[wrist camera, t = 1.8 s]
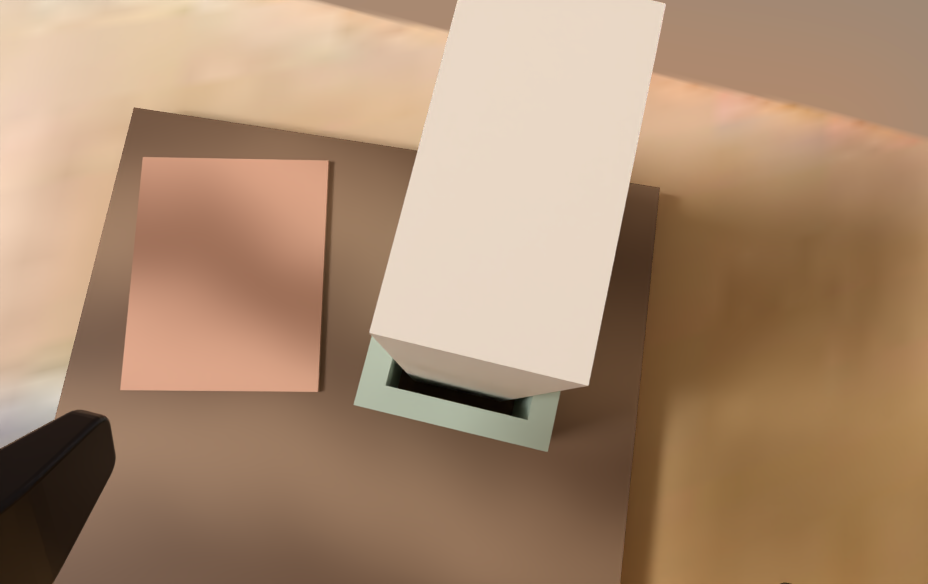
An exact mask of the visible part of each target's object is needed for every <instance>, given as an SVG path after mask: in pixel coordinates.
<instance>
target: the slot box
mask: <svg viewBox="0 0 928 584" xmlns="http://www.w3.org/2000/svg"><path fill="white" fill-rule="evenodd" d="M401 373H402V367H401V366H400V365H399V364H398V363H397V362H396V361H395V360H394V359H393V358H392V357H391V356H390V355H389V354H388V352H387V351H386V350H385V349H384V348H383V347H382V346H381V345H380V344H379V343H378V342H377V341H376V340H375V339H374V337H373V336H372V337H371V341H370V345H369V348H368V352H367V356H366V360H365V363H364V367H363V371H362V375H361V378H360V382H359V386H358V390H357V394H356V397H355V401H354V405H356V406H360V407H364V408H369V409H373V410H377V411H381V412H385V413H389V414H393V415H397V416H401V417H406V418H410V419H414V420H418V421H422V422H426V423H430V424H434V425H438V426H443V427H447V428H451V429H455V430H459V431H463V432H467V433H471V434H475V435H480V436H484V437H488V438H492V439H496V440H500V441H504V442H508V443H512V444H517V445H521V446H525V447H529V448H533V449H537V450H541V451H545V452H548V448H549V444H550V439H551V434H552V429H553V425H554V420H555V415H556V410H557V406H558V401H559V396H560V391H557V392H551V393H545V394H540V395H534V396H529V397H523V398H518V399H515V401H514V406H513V410H512V415H511V416H509V415H505V414H501V413H497V412H493V411H489V410H484V409H480V408H476V407H472V406H468V405H464V404H460V403H456V402H451V401H447V400H443V399H439V398H435V397H431V396H427V395H423V394H419V393H414V392H410V391H406V390H402V389H398V385H399V381H400V377H401Z"/></svg>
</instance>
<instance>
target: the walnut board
mask: <svg viewBox="0 0 928 584" xmlns="http://www.w3.org/2000/svg"><path fill="white" fill-rule="evenodd" d="M416 155H417V151H416V150H409V149H403V148H396V147H389V146H383V145H376V144H370V143H363V142H357V141H350V140H344V139H337V138H330V137H324V136H317V135H311V134H304V133H298V132H291V131H284V130H278V129H271V128H265V127H258V126H252V125H245V124H239V123H232V122H225V121H219V120H212V119H206V118H199V117H193V116H186V115H179V114H173V113H166V112H160V111H153V110H147V109H140V108H134V109H133V113H132V117H131V121H130V125H129V129H128V133H127V137H126V141H125V145H124V149H123V153H122V157H121V160H120V164H119V168H118V172H117V176H116V180H115V184H114V188H113V192H112V196H111V200H110V204H109V208H108V212H107V216H106V220H105V223H104V227H103V231H102V235H101V239H100V243H99V247H98V251H97V255H96V259H95V263H94V267H93V271H92V275H91V279H90V282H89V286H88V290H87V294H86V298H85V302H84V306H83V310H82V314H81V318H80V322H79V326H78V330H77V334H76V338H75V342H74V345H73V349H72V353H71V357H70V361H69V365H68V369H67V373H66V377H65V381H64V385H63V389H62V393H61V397H60V401H59V404H58V408H57V412H56V416H55V419H56V418H58V417H60V416H62V415H64V414H66V413H68V412H70V411H73V410H78V409H79V410H86V411H90V412H94V413H98V414H102V415H105V416H106V417H107V418H108V419H109V421H110V424H111V430H112V436H113V442H114V448H115V453H116V460H115V466H114V469H113V471H112V474H111V476H110V478H109V480H108V481H107V483H106V485H105V487H104V489H103V491H102V493H101V495H100V497H99V499H98V500H97V502H96V504H95V506H94V508H93V510H92V512H91V514H90V516H89V518H88V519H87V521H86V523H85V525H84V527H83V529H82V531H81V533H80V535H79V536H78V538H77V540H76V542H75V544H74V546H73V548H72V550H71V552H70V554H69V555H68V557H67V559H66V561H65V563H64V565H63V567H62V568H61V570H60V572H59V574H58V576H57V577H56V579H55V581H54V582H53V584H620V580H621V570H622V560H623V550H624V540H625V530H626V520H627V510H628V500H629V490H630V480H631V470H632V460H633V450H634V440H635V430H636V420H637V410H638V400H639V390H640V380H641V370H642V360H643V350H644V340H645V330H646V320H647V310H648V300H649V290H650V280H651V270H652V260H653V250H654V240H655V230H656V220H657V210H658V200H659V190H660V188H659V187H652V186H645V185H639V184H632V183H629V188H628V193H627V198H626V203H625V208H624V213H623V218H622V223H621V228H620V233H619V238H618V243H617V247H616V252H615V257H614V262H613V267H612V272H611V277H610V282H609V287H608V292H607V297H606V302H605V307H604V312H603V316H602V321H601V326H600V331H599V336H598V341H597V346H596V351H595V356H594V361H593V366H592V371H591V376H590V380H589V385H588V386H585V387H579V388H573V389H568V390H562V391H560V396H559V401H558V406H557V410H556V415H555V420H554V425H553V429H552V434H551V439H550V444H549V448H548V452H545V451H541V450H537V449H533V448H529V447H525V446H521V445H517V444H512V443H508V442H504V441H500V440H496V439H492V438H488V437H484V436H480V435H475V434H471V433H467V432H463V431H459V430H455V429H451V428H447V427H443V426H438V425H434V424H430V423H426V422H422V421H418V420H414V419H410V418H406V417H401V416H397V415H393V414H389V413H385V412H381V411H377V410H373V409H369V408H364V407H360V406H356V405H354V401H355V397H356V394H357V390H358V386H359V382H360V378H361V375H362V371H363V367H364V363H365V360H366V356H367V352H368V348H369V345H370V341H371V337H372V335H371V334H370V333H369V331H370V328H371V324H372V320H373V316H374V313H375V309H376V305H377V301H378V298H379V294H380V290H381V286H382V283H383V279H384V275H385V271H386V268H387V264H388V260H389V256H390V253H391V249H392V245H393V241H394V238H395V234H396V230H397V226H398V223H399V219H400V215H401V211H402V208H403V204H404V200H405V196H406V193H407V189H408V185H409V181H410V177H411V174H412V170H413V166H414V162H415V159H416ZM398 389H402V390H406V391H410V392H414V393H419V394H423V395H427V396H431V397H435V398H439V399H443V400H447V401H451V402H456V403H460V404H464V405H468V406H472V407H476V408H480V409H484V410H489V411H493V412H497V413H501V414H505V415H509V416H511V415H512V410H513V406H514V401H515V399H512V400H506V401H501V402H500V401H496V400H492V399H488V398H484V397H480V396H475V395H471V394H467V393H463V392H459V391H455V390H451V389H447V388H442V387H438V386H434V385H430V384H426V383H422V382H418V381H414V380H413V379H412V378H411V377H410V376H409V375H408V374H407V373H406V372H405V371H404V370H403V369H402V373H401V377H400V381H399V385H398Z"/></svg>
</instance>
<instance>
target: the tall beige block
mask: <svg viewBox="0 0 928 584" xmlns="http://www.w3.org/2000/svg"><path fill="white" fill-rule="evenodd" d="M665 6H666V4H664V3H660V2H656V1H652V0H458V1H457V5H456V9H455V13H454V16H453V20H452V24H451V27H450V31H449V35H448V39H447V42H446V46H445V50H444V54H443V57H442V61H441V65H440V69H439V72H438V76H437V80H436V84H435V87H434V91H433V95H432V99H431V102H430V106H429V110H428V114H427V117H426V121H425V125H424V129H423V132H422V136H421V140H420V144H419V147H418V151H417V155H416V159H415V162H414V166H413V170H412V174H411V177H410V181H409V185H408V189H407V193H406V196H405V200H404V204H403V208H402V211H401V215H400V219H399V223H398V226H397V230H396V234H395V238H394V241H393V245H392V249H391V253H390V256H389V260H388V264H387V268H386V271H385V275H384V279H383V283H382V286H381V290H380V294H379V298H378V301H377V305H376V309H375V313H374V316H373V320H372V324H371V328H370V331H369V333H370V334H371V335H372V336H373V337H374V339H375V340H376V341H377V342H378V343H379V344H380V345H381V346H382V347H383V348H384V349H385V350H386V351H387V352H388V354H389V355H390V356H391V357H392V358H393V359H394V360H395V361H396V362H397V363H398V364H399V365H400V366H401V367H402V369H403V370H404V371H405V372H406V373H407V374H408V375H409V376H410V377H411V378H412V379H413V380H414V381H418V382H422V383H426V384H430V385H434V386H438V387H442V388H447V389H451V390H455V391H459V392H463V393H467V394H471V395H475V396H480V397H484V398H488V399H492V400H496V401H500V402H501V401H506V400H512V399H518V398H523V397H529V396H534V395H540V394H545V393H551V392H557V391H562V390H568V389H573V388H579V387H585V386H588V385H589V380H590V376H591V371H592V366H593V361H594V356H595V351H596V346H597V341H598V336H599V331H600V326H601V321H602V316H603V312H604V307H605V302H606V297H607V292H608V287H609V282H610V277H611V272H612V267H613V262H614V257H615V252H616V247H617V243H618V238H619V233H620V228H621V223H622V218H623V213H624V208H625V203H626V198H627V193H628V188H629V183H630V178H631V174H632V169H633V164H634V159H635V154H636V149H637V144H638V139H639V134H640V129H641V124H642V119H643V114H644V109H645V105H646V100H647V95H648V90H649V85H650V80H651V75H652V70H653V64H654V60H655V55H656V50H657V45H658V40H659V36H660V31H661V26H662V21H663V16H664V10H665Z"/></svg>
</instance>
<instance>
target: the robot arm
mask: <svg viewBox="0 0 928 584" xmlns="http://www.w3.org/2000/svg"><path fill="white" fill-rule="evenodd" d="M115 460H116V453H115V448H114V442H113V436H112V430H111V424H110V421H109V419H108V418H107V417H106V416H105V415H102V414H98V413H94V412H90V411H86V410H79V409H78V410H73V411H70V412H68V413H66V414H64V415H62V416H60V417H58V418H56V419H55V420H53V421H51V422H49V423H47V424H45V425H43V426H42V427H40V428H38V429H36V430H34V431H32V432H30V433H28V434H27V435H25V436H23V437H21V438H19V439H17V440H15V441H14V442H12V443H10V444H8V445H6V446H4V447H2V448H0V584H53V582H54V581H55V579H56V577H57V576H58V574H59V572H60V570H61V568H62V567H63V565H64V563H65V561H66V559H67V557H68V555H69V554H70V552H71V550H72V548H73V546H74V544H75V542H76V540H77V538H78V536H79V535H80V533H81V531H82V529H83V527H84V525H85V523H86V521H87V519H88V518H89V516H90V514H91V512H92V510H93V508H94V506H95V504H96V502H97V500H98V499H99V497H100V495H101V493H102V491H103V489H104V487H105V485H106V483H107V481H108V480H109V478H110V476H111V474H112V471H113V469H114V466H115ZM781 584H790V583H781Z"/></svg>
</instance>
